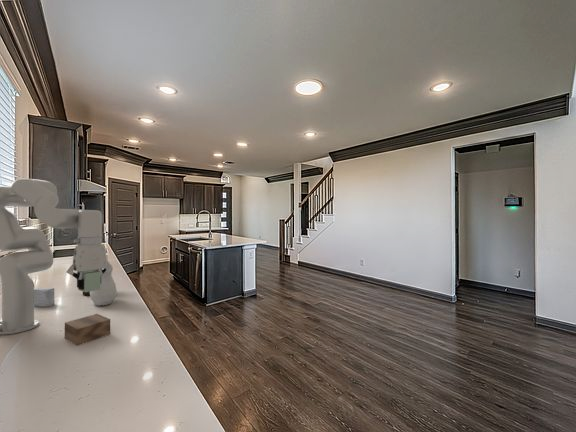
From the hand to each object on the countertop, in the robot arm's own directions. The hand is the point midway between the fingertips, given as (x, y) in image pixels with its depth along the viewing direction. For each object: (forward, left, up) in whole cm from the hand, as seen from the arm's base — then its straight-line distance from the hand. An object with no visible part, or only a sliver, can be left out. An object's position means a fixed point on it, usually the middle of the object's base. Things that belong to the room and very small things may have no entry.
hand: (89, 287), depth 105 cm
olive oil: (+27, +61, -19) cm, 69 cm away
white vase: (+22, +37, -19) cm, 47 cm away
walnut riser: (0, 0, -19) cm, 19 cm away
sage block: (0, 0, -1) cm, 1 cm away
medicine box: (+4, +59, -19) cm, 62 cm away
